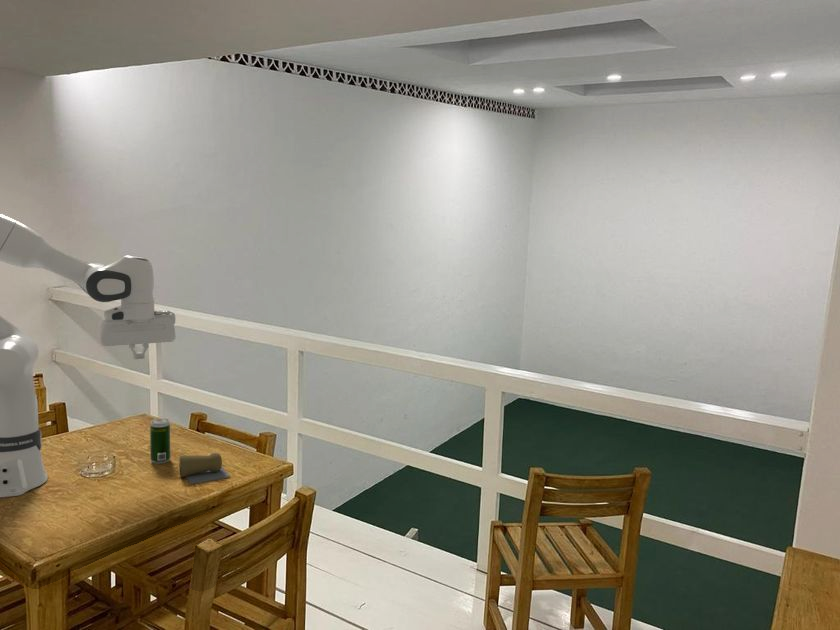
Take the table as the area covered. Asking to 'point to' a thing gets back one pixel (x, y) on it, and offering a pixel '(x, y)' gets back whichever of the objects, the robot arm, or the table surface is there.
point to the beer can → (160, 441)
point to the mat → (207, 476)
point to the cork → (199, 464)
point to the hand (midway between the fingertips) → (138, 358)
